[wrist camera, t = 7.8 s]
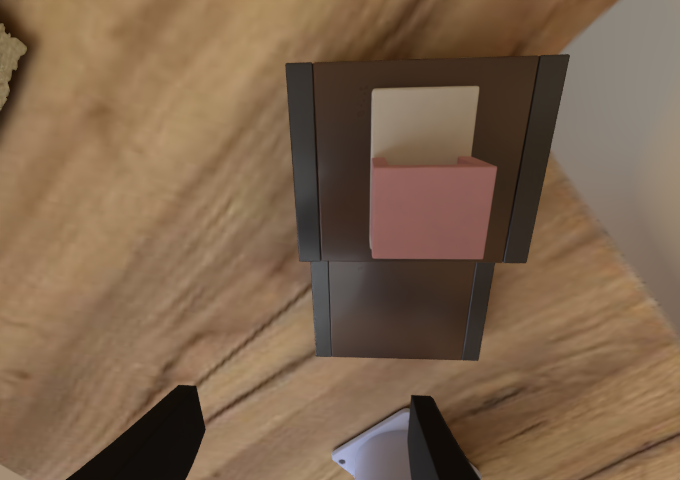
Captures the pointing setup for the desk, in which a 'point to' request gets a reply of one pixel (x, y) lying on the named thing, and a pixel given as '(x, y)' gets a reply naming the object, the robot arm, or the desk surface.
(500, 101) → the dark stepped block
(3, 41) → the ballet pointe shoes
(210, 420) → the desk surface
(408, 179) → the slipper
